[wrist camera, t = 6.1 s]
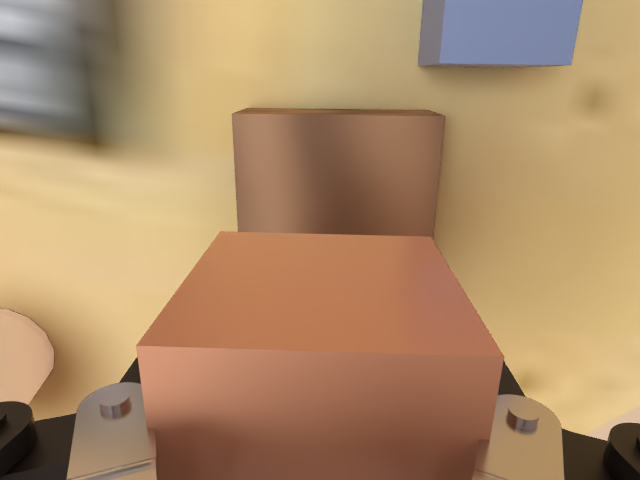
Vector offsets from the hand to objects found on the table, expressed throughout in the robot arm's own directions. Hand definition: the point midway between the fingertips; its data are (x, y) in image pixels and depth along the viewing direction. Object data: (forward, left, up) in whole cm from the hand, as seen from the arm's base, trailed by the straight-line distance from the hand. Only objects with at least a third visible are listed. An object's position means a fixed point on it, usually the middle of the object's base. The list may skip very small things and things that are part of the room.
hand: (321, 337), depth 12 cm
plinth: (0, 0, -16) cm, 16 cm away
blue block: (-7, -10, -16) cm, 20 cm away
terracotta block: (0, 0, -1) cm, 1 cm away
